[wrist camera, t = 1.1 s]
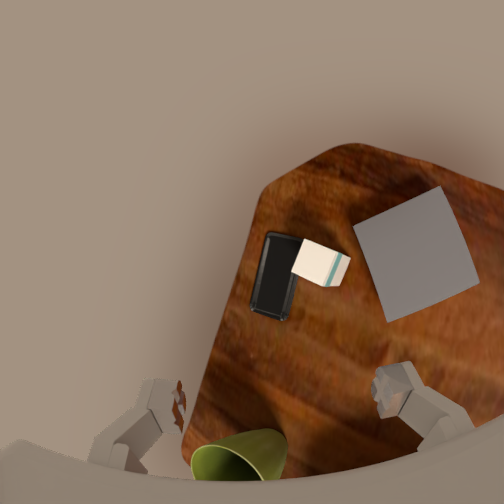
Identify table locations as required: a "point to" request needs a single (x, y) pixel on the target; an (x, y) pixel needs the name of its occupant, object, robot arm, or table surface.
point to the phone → (276, 276)
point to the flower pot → (242, 457)
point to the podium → (416, 254)
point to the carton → (320, 264)
